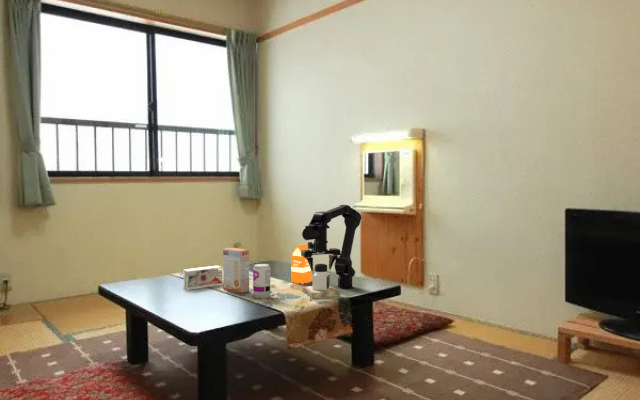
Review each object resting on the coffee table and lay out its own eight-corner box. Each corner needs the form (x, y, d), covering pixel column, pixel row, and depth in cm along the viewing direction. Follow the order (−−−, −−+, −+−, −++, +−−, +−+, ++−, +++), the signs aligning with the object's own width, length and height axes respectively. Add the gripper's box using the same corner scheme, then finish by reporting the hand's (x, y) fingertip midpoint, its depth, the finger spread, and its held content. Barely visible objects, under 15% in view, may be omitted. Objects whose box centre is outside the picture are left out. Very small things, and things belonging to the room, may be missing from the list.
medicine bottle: (326, 290, 235) (326, 265, 234) (312, 290, 236) (312, 265, 236) (329, 287, 242) (329, 263, 241) (315, 286, 243) (315, 262, 243)
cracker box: (250, 291, 243) (249, 249, 242) (240, 293, 239) (239, 251, 238) (232, 287, 253) (232, 246, 252) (222, 289, 248) (222, 248, 247)
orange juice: (312, 281, 268) (312, 244, 267) (303, 284, 260) (303, 246, 259) (300, 279, 272) (300, 243, 271) (291, 282, 265) (291, 245, 264)
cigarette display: (187, 289, 248) (187, 271, 247) (183, 287, 252) (183, 269, 252) (224, 284, 260) (224, 266, 259) (219, 282, 264) (219, 265, 264)
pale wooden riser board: (328, 289, 248) (328, 284, 248) (339, 296, 235) (339, 290, 235) (302, 291, 243) (302, 286, 243) (312, 298, 230) (312, 293, 230)
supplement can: (256, 299, 228) (256, 267, 228) (250, 295, 236) (250, 264, 235) (273, 297, 232) (272, 265, 231) (266, 293, 239) (266, 262, 239)
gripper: (332, 235, 249) (332, 266, 249) (297, 237, 242) (297, 268, 243) (341, 238, 238) (341, 270, 239) (304, 239, 232) (304, 272, 232)
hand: (320, 270), depth 239 cm, fingers open, 9 cm apart
